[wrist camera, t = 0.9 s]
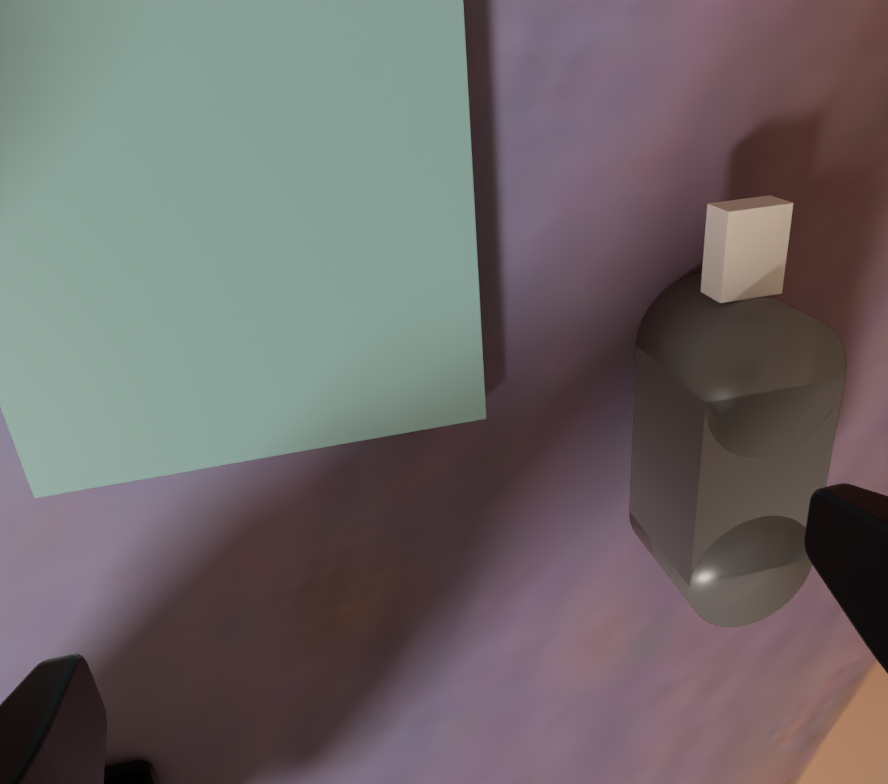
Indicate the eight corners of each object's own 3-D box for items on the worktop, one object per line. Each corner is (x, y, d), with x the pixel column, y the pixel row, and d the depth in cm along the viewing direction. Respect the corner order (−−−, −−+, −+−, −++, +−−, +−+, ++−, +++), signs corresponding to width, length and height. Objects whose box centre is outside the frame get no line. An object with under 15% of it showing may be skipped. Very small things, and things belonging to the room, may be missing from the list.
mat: (477, 403, 23) (486, 418, 22) (43, 478, 21) (34, 498, 20) (434, -302, 15) (445, -322, 15) (-235, -295, 13) (-269, -318, 13)
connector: (732, 535, 27) (803, 610, 24) (626, 558, 27) (685, 639, 23) (773, 180, 22) (874, 210, 18) (641, 197, 21) (720, 231, 18)
